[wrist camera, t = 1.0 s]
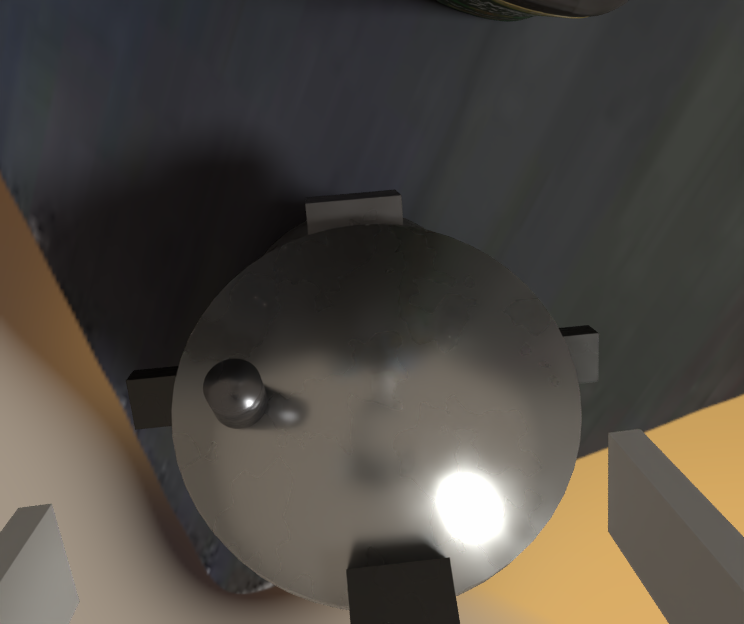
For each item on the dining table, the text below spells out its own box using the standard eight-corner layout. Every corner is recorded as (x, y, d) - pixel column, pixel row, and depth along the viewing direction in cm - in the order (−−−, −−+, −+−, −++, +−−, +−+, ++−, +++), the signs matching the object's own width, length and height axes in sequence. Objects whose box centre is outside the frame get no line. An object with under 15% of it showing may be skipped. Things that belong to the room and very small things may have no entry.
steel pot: (145, 197, 46) (88, 223, 35) (539, 163, 48) (609, 177, 36) (188, 452, 52) (150, 548, 40) (542, 414, 53) (604, 497, 41)
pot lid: (650, 682, 26) (683, 681, 23) (168, 743, 25) (142, 749, 22) (526, 223, 36) (539, 183, 34) (183, 254, 35) (166, 216, 33)
